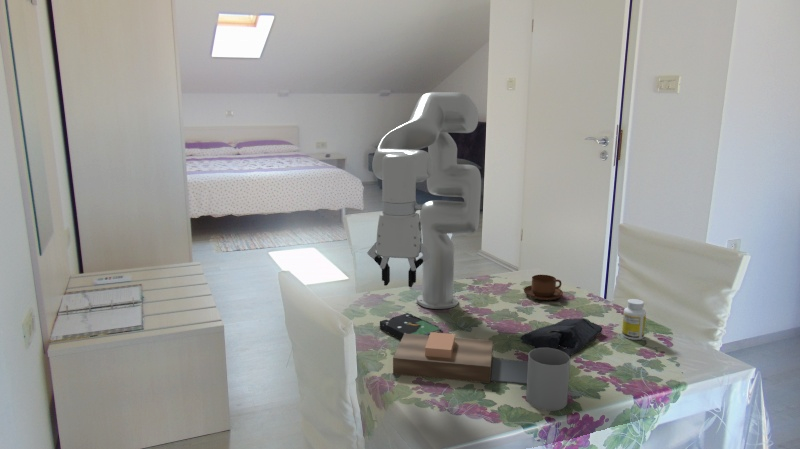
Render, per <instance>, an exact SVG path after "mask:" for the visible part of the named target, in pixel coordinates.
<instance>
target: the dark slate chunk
mask: <svg viewBox="0 0 800 449" xmlns="http://www.w3.org/2000/svg"><path fill="white" fill-rule="evenodd" d="M602 331H603V327H602V326H601V325H599V324H596V323H594V322H592V321H591V320H589V319H586V318H564V319H561V320H560V321H558V322H556V323H553V324H550V325H549V324H548V325H546V326H543V327H539V328H537V329H536V328H535V329H534V330H531V331H528V332H526V333H524V334H522V335H521V336H520V338H519V339H520V340H521V343H522V344H524V345H525V344H526V345H528V346H530V347H533V349H537V348H553V349H558V350H560V351H563V352H565V353H566V354H567V355H569V357H572V356H573V355H574V354H575V353H577V352H579V351H581V350H583V349H584V348H585V347H586V346H587V344H588V343H590V342H591V341H592V340H593V339H595V338H596V337H597V335H599V334H601V333H602Z"/></svg>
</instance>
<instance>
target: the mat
mask: <svg viewBox="0 0 800 449" xmlns="http://www.w3.org/2000/svg"><path fill="white" fill-rule="evenodd" d="M527 373H528V360H515V359H504V358H495V357H494V358H493V357H492V365H491V376H490V382H498V383H507V384H518V385H527Z"/></svg>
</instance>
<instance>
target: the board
mask: <svg viewBox="0 0 800 449" xmlns="http://www.w3.org/2000/svg"><path fill="white" fill-rule="evenodd" d="M428 338H429V335H417V334H405V333H404V335H403V337H402V339H400V342H399V344H398V346H397V348H396V351H395V353H394V355H393V358H392V374H393V375H397V376H398V375H399V376H410V377H419V378H420V377H421V378H429V379H431V378H433V379H442V380H452V381H453V380H454V381H463V382H474V383H484V384H486V383H487V384H491V374H492V363H493V351H494V350H493V349H494V341H493V340H491V339H490V340H488V339H477V338H464V337H455V344H454V348H453V352H452V356H451V358H444V357H432V356H425V347H426V344H427V341H428Z"/></svg>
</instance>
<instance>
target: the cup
mask: <svg viewBox="0 0 800 449" xmlns="http://www.w3.org/2000/svg"><path fill="white" fill-rule="evenodd" d="M527 361H528V373H527V384H526V398H525V399H526V402H527V403H528V404H529V405H530V406H531V407H534V408H536V409H537V410H541V411H546V412H549V411H551V412H552V411H554V412H555V411H560V410H563V409H564V408H565V407H566V406H567V405H568V394H569V382H570V381H569V380H570V379H569V378H570V370H571V369H570V368H571V358H570V357H569V355H567V354H566V353H565V352H563V351H560V350H558V349H553V348H537V349H535V348H533V349H531V350H529V352H528V359H527Z"/></svg>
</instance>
